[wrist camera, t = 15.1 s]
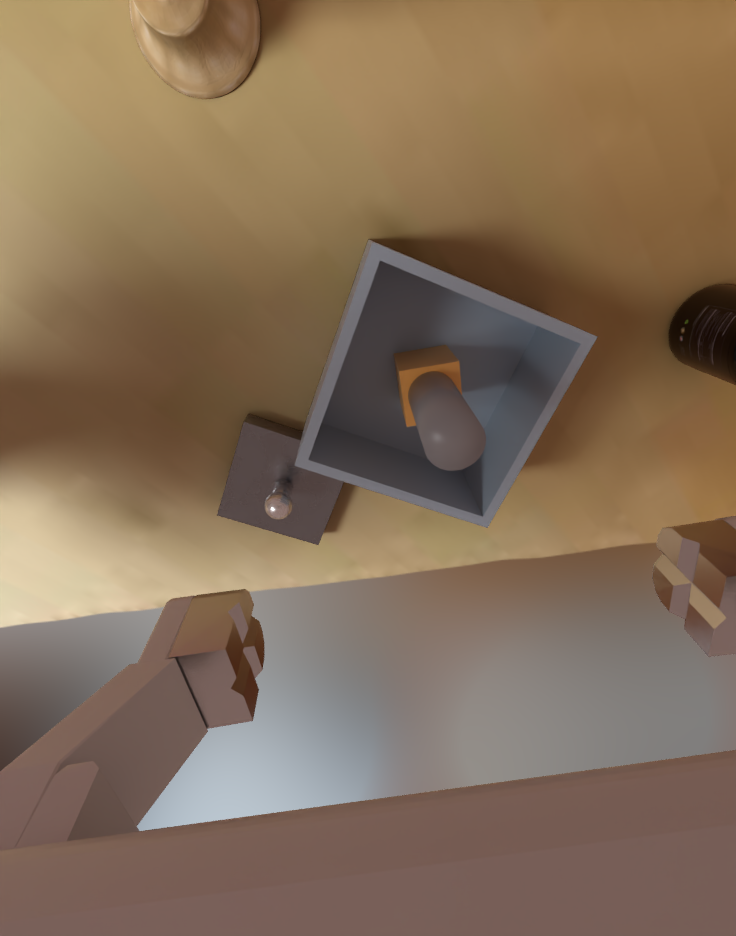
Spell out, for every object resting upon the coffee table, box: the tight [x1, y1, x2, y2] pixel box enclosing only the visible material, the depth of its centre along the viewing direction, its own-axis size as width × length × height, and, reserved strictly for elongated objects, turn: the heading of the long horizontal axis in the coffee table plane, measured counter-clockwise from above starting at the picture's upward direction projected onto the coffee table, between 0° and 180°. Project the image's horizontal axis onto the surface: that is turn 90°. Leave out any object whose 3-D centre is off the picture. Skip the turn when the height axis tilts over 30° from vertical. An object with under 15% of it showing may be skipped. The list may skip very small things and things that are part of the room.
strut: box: [394, 345, 486, 471], centre depth 34 cm, size 4×4×15 cm
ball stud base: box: [217, 414, 344, 545], centre depth 43 cm, size 10×10×6 cm
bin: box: [295, 239, 597, 528], centre depth 38 cm, size 16×16×9 cm
